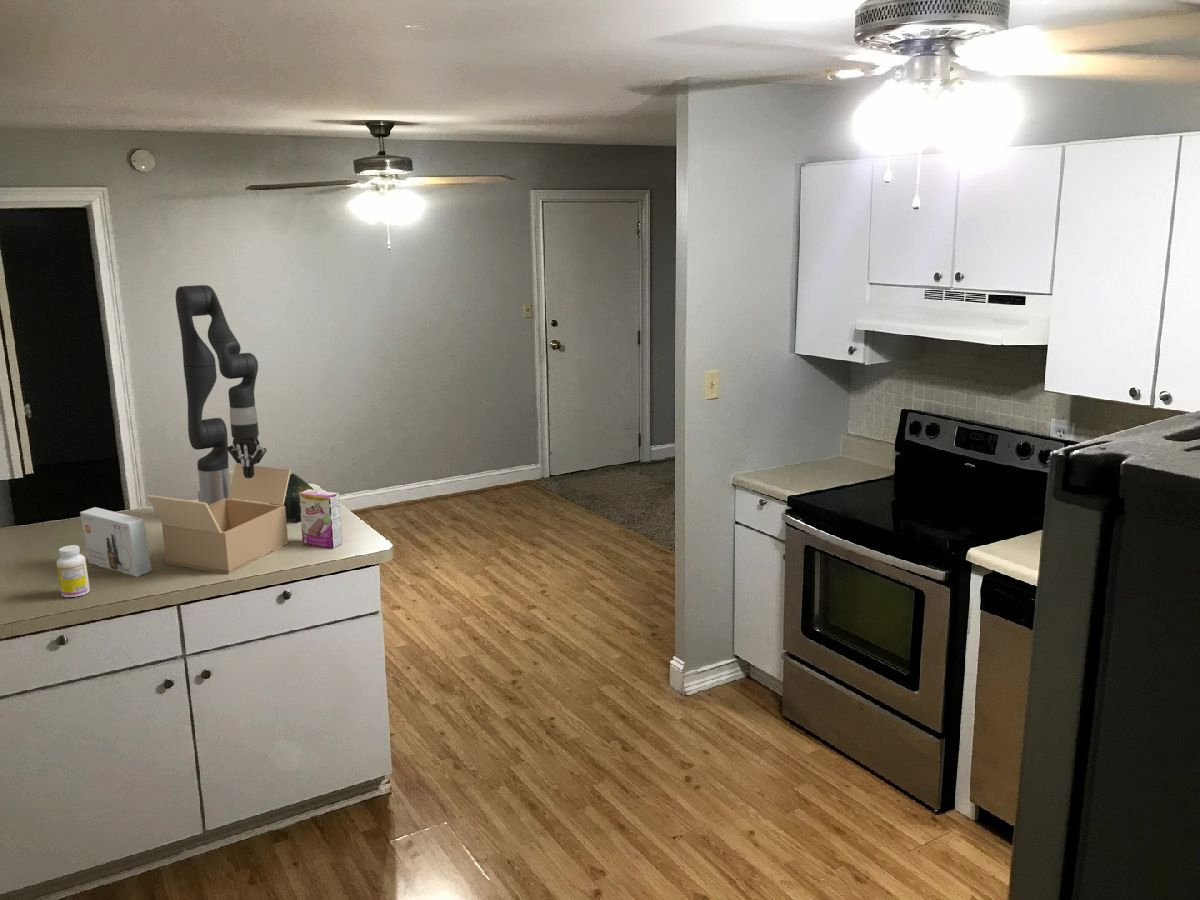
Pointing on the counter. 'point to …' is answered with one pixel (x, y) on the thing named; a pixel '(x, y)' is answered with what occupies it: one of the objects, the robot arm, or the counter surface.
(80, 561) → the supplement bottle
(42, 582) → the counter surface
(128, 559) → the skincare box
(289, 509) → the squash
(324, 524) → the candy bar box
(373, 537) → the counter surface
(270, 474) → the back flap
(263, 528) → the carton
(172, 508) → the front flap
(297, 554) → the counter surface
